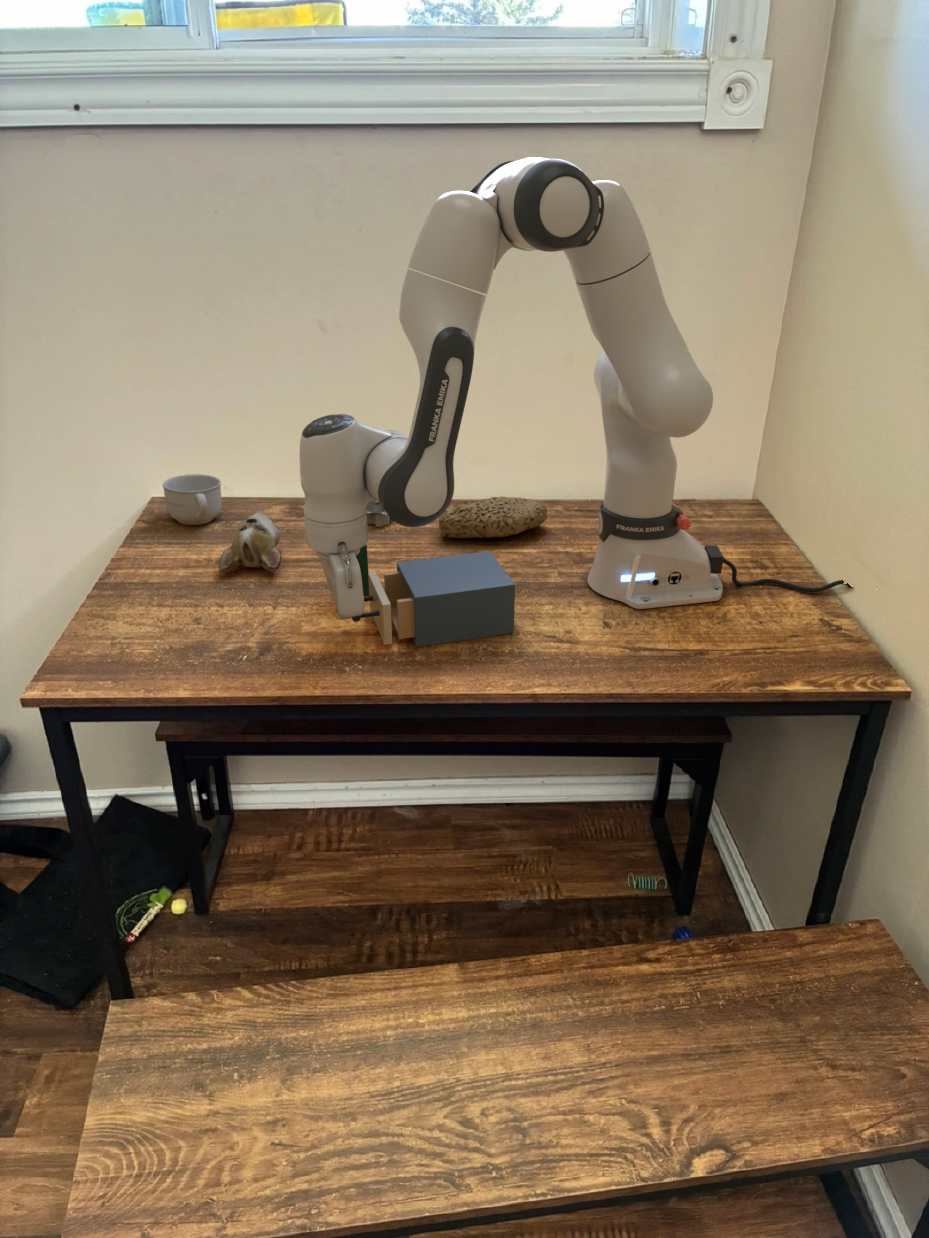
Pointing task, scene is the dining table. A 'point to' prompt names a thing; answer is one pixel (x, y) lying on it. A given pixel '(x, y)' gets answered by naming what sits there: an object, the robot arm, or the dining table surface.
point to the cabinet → (459, 597)
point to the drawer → (390, 606)
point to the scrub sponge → (364, 568)
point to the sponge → (491, 517)
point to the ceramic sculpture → (253, 545)
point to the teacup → (193, 498)
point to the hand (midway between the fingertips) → (343, 614)
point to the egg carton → (376, 514)
